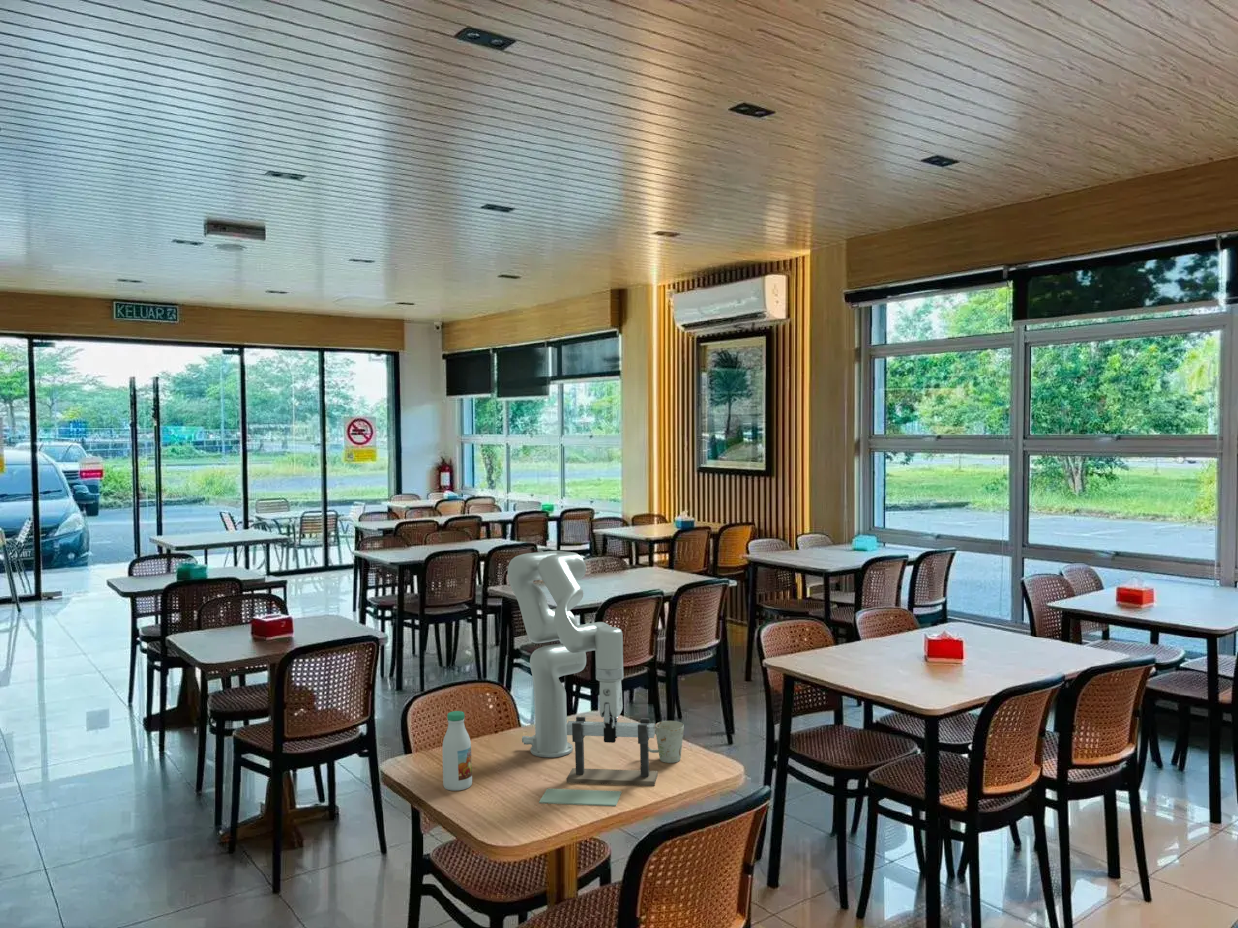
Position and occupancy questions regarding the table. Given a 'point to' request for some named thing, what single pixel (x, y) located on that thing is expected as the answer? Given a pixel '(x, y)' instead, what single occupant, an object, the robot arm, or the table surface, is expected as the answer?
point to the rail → (620, 727)
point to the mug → (669, 741)
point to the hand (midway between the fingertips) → (610, 739)
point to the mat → (581, 797)
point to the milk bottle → (456, 754)
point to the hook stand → (611, 775)
